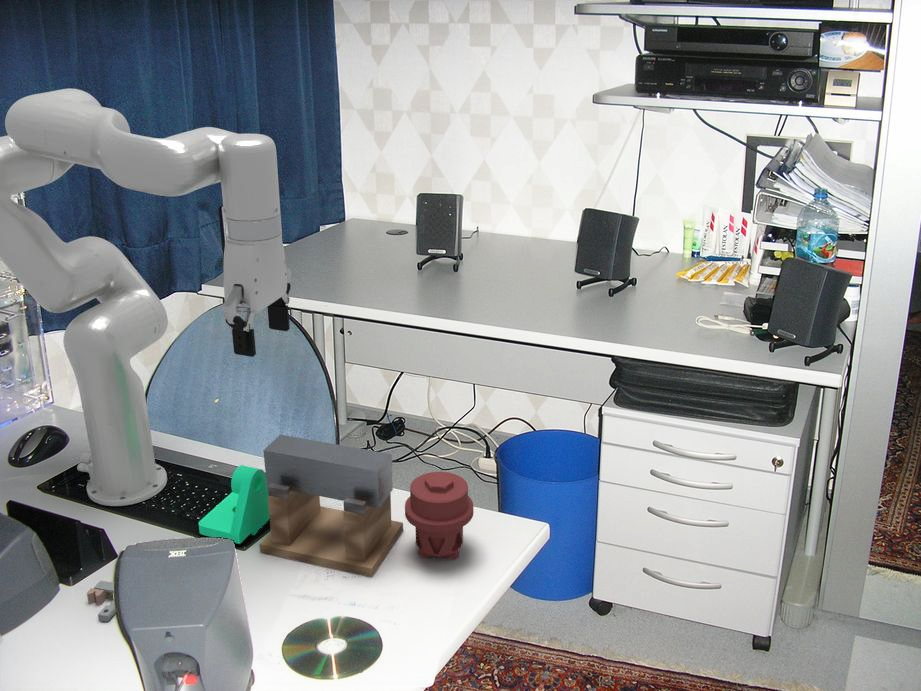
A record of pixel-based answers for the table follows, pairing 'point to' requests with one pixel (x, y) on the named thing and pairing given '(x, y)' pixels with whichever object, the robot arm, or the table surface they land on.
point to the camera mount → (240, 507)
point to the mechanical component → (439, 513)
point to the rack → (329, 531)
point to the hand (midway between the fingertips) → (262, 341)
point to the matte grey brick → (329, 470)
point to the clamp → (103, 598)
